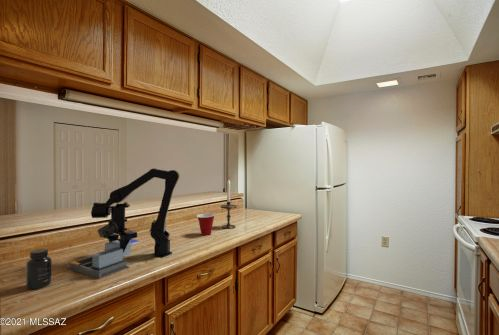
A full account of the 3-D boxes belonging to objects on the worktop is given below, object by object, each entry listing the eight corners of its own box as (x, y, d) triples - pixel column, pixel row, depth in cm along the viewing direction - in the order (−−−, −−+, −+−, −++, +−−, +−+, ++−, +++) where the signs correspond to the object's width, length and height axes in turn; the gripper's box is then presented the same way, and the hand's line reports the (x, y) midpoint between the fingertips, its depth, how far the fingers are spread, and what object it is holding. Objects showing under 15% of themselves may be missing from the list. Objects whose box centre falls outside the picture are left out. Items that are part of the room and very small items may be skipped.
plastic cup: (195, 232, 166) (195, 213, 165) (213, 231, 169) (213, 212, 169) (197, 237, 155) (197, 216, 155) (216, 235, 159) (216, 215, 158)
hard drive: (116, 246, 134) (138, 240, 144) (107, 243, 138) (129, 238, 149) (116, 249, 134) (138, 243, 144) (107, 246, 138) (129, 241, 149)
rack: (98, 259, 119) (98, 242, 119) (129, 267, 109) (129, 249, 109) (67, 268, 108) (67, 249, 107) (99, 278, 98) (99, 258, 98)
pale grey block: (124, 253, 127) (124, 238, 127) (130, 254, 125) (130, 239, 125) (104, 259, 118) (104, 243, 118) (110, 261, 117) (110, 244, 117)
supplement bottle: (21, 288, 90) (21, 252, 90) (43, 280, 97) (43, 246, 97) (34, 291, 88) (34, 254, 88) (56, 283, 94) (56, 248, 94)
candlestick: (237, 228, 176) (238, 175, 176) (221, 229, 174) (221, 175, 174) (235, 225, 187) (235, 174, 187) (219, 225, 185) (219, 174, 184)
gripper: (87, 218, 119) (87, 253, 119) (115, 223, 110) (115, 261, 110) (111, 214, 129) (111, 247, 129) (138, 218, 120) (138, 253, 120)
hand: (118, 252), depth 122 cm, fingers open, 5 cm apart
